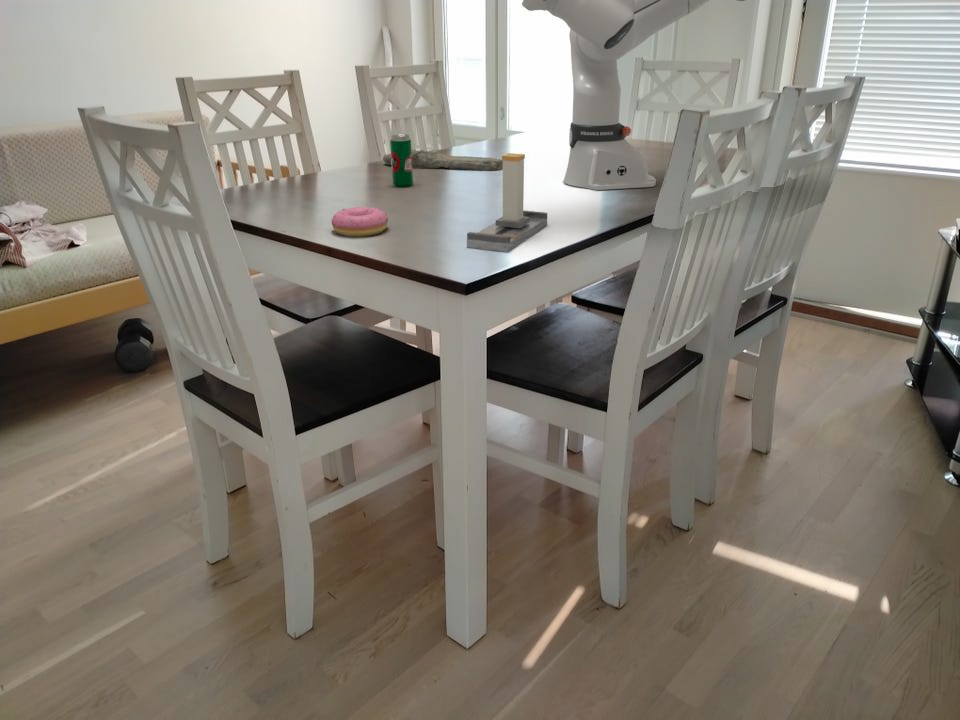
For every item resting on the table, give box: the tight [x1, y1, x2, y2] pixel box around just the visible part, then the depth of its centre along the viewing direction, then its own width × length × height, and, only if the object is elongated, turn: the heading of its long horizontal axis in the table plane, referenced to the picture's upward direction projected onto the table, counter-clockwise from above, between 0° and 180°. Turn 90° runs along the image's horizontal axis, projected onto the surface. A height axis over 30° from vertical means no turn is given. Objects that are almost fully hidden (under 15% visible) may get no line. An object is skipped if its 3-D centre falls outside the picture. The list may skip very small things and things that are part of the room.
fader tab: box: [495, 152, 530, 228], centre depth 137 cm, size 5×5×13 cm
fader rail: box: [466, 209, 548, 253], centre depth 138 cm, size 20×8×2 cm, turn 155°
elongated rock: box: [382, 149, 503, 172], centre depth 203 cm, size 35×5×10 cm
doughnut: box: [330, 206, 389, 238], centre depth 142 cm, size 11×11×4 cm
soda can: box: [389, 133, 414, 188], centre depth 179 cm, size 5×5×12 cm
